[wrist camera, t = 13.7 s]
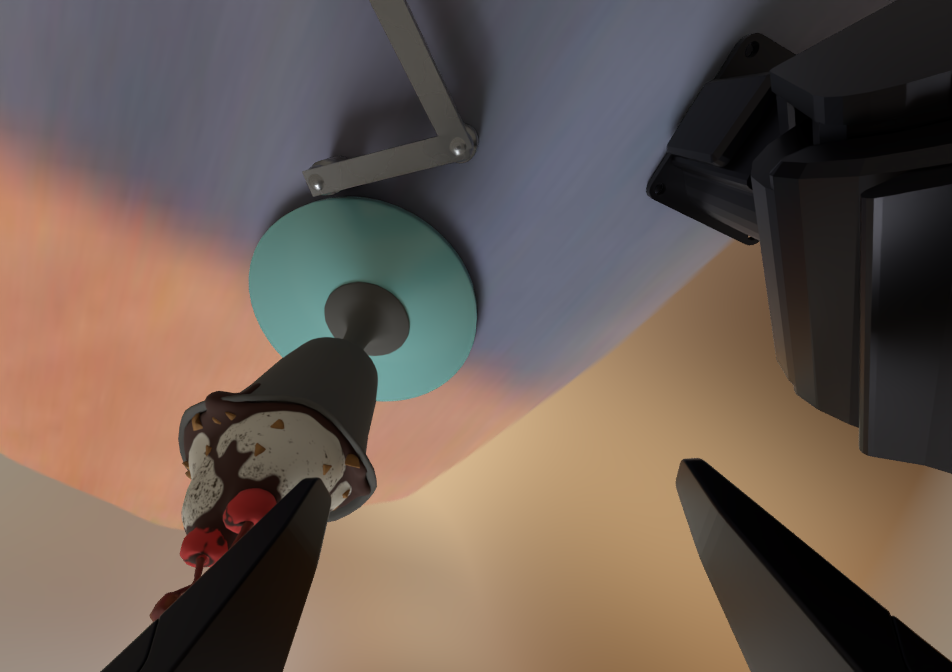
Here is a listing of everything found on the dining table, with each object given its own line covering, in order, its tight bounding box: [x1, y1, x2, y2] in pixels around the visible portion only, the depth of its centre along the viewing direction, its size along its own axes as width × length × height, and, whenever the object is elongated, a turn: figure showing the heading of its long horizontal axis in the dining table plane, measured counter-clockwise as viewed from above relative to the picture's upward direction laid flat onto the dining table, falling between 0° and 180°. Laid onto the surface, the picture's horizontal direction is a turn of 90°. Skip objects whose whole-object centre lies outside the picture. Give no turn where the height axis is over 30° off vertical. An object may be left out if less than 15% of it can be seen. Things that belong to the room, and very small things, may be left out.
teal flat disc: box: [249, 196, 477, 401], centre depth 21 cm, size 13×13×1 cm
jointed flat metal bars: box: [302, 0, 479, 197], centre depth 14 cm, size 7×10×3 cm
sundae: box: [150, 282, 410, 622], centre depth 14 cm, size 7×7×15 cm
